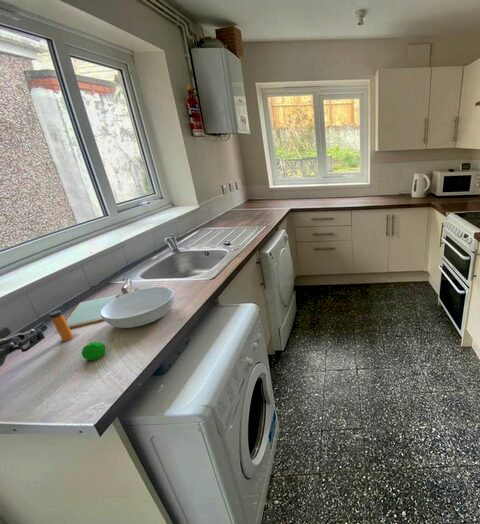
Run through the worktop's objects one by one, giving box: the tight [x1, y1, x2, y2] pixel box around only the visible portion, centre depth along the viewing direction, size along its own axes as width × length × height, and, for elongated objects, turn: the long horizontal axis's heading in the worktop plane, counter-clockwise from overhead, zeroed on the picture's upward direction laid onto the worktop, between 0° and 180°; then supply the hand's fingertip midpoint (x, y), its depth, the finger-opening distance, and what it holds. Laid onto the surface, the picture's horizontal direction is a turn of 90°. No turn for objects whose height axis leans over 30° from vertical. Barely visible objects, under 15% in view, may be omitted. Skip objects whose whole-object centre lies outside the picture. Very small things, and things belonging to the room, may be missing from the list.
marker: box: [48, 309, 75, 342], centre depth 88 cm, size 3×3×10 cm
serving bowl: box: [100, 286, 175, 329], centre depth 99 cm, size 21×21×7 cm
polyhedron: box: [81, 341, 106, 361], centre depth 80 cm, size 5×5×5 cm
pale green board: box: [65, 294, 119, 329], centre depth 105 cm, size 12×20×1 cm, turn 27°
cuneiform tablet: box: [120, 277, 136, 295], centre depth 116 cm, size 6×4×12 cm
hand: (26, 327), depth 78 cm, fingers open, 8 cm apart
